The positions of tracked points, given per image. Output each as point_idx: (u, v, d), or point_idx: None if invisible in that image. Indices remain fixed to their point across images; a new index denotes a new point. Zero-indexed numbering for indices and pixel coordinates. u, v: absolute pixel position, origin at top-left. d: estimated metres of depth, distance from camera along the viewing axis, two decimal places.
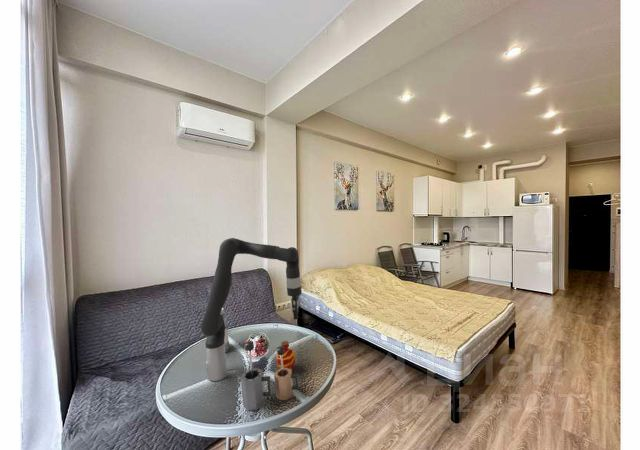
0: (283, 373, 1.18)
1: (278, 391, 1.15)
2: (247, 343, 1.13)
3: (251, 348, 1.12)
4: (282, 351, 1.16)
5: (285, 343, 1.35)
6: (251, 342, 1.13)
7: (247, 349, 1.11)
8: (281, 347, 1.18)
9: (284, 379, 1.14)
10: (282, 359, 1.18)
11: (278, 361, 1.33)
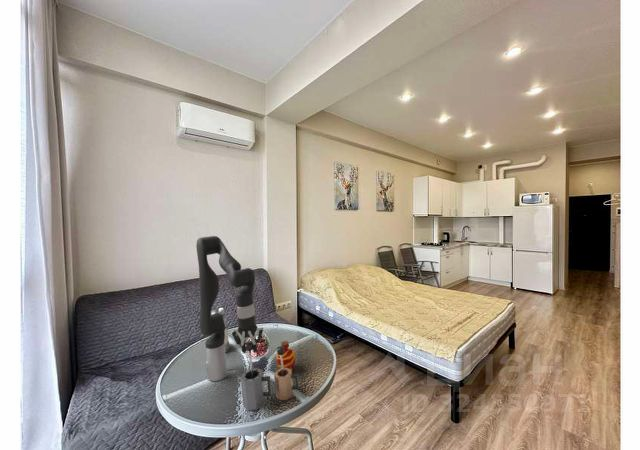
0: (283, 373, 1.18)
1: (278, 391, 1.15)
2: (247, 343, 1.13)
3: (251, 348, 1.12)
4: (282, 351, 1.16)
5: (285, 343, 1.35)
6: (251, 342, 1.13)
7: (247, 349, 1.11)
8: (281, 347, 1.18)
9: (284, 379, 1.14)
10: (282, 359, 1.18)
11: (278, 361, 1.33)
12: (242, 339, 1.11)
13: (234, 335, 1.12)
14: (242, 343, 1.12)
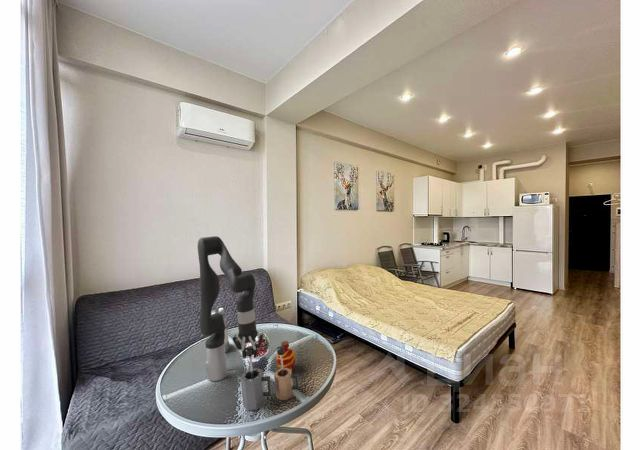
0: (283, 373, 1.18)
1: (278, 391, 1.15)
2: (248, 348, 1.13)
3: (252, 353, 1.12)
4: (282, 351, 1.16)
5: (285, 343, 1.35)
6: (252, 347, 1.14)
7: (247, 354, 1.12)
8: (281, 347, 1.18)
9: (284, 379, 1.14)
10: (282, 359, 1.18)
11: (278, 361, 1.33)
12: (243, 344, 1.11)
13: (235, 340, 1.12)
14: (243, 348, 1.12)
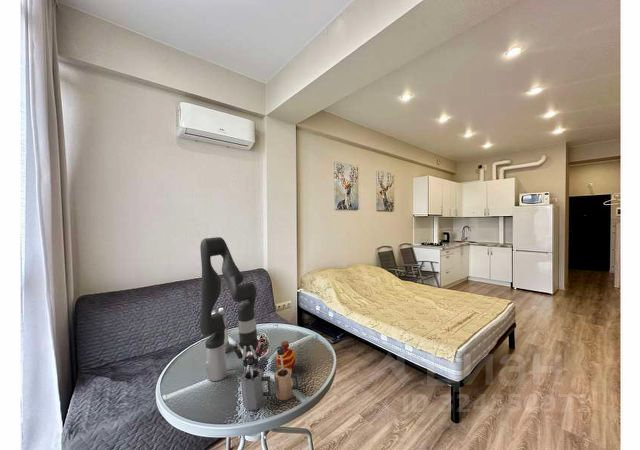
0: (283, 373, 1.18)
1: (278, 391, 1.15)
2: (248, 357, 1.13)
3: (252, 362, 1.12)
4: (282, 351, 1.16)
5: (285, 343, 1.35)
6: (252, 356, 1.14)
7: (248, 363, 1.12)
8: (281, 347, 1.18)
9: (284, 379, 1.14)
10: (282, 359, 1.18)
11: (278, 361, 1.33)
12: (243, 353, 1.12)
13: (235, 349, 1.12)
14: (244, 357, 1.12)
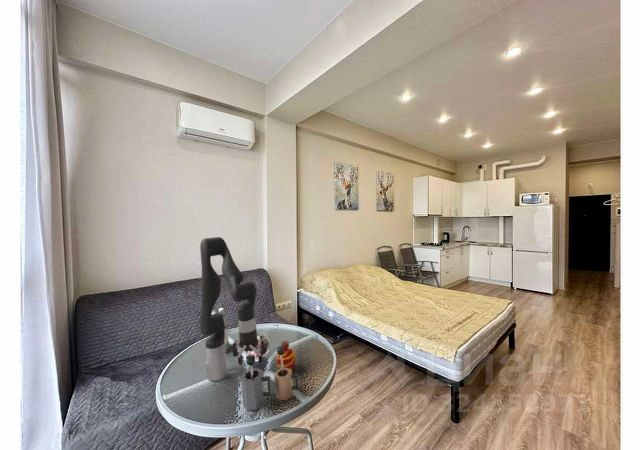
0: (283, 373, 1.18)
1: (278, 391, 1.15)
2: (248, 357, 1.13)
3: (252, 362, 1.12)
4: (282, 351, 1.16)
5: (285, 343, 1.35)
6: (252, 356, 1.14)
7: (248, 363, 1.12)
8: (281, 347, 1.18)
9: (284, 379, 1.14)
10: (282, 359, 1.18)
11: (278, 361, 1.33)
12: (241, 352, 1.12)
13: (234, 346, 1.12)
14: (238, 355, 1.12)
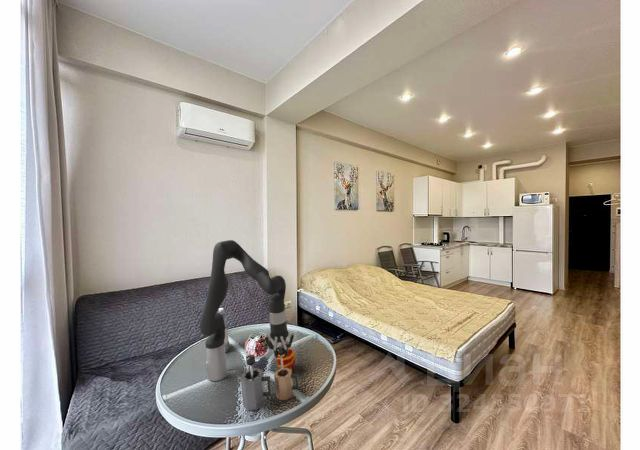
0: (283, 373, 1.18)
1: (278, 391, 1.15)
2: (248, 357, 1.13)
3: (252, 362, 1.12)
4: (282, 351, 1.16)
5: None
6: (252, 356, 1.14)
7: (248, 363, 1.12)
8: (281, 347, 1.18)
9: (284, 379, 1.14)
10: (282, 359, 1.18)
11: (278, 361, 1.33)
12: (275, 344, 1.16)
13: (267, 340, 1.16)
14: (275, 348, 1.16)
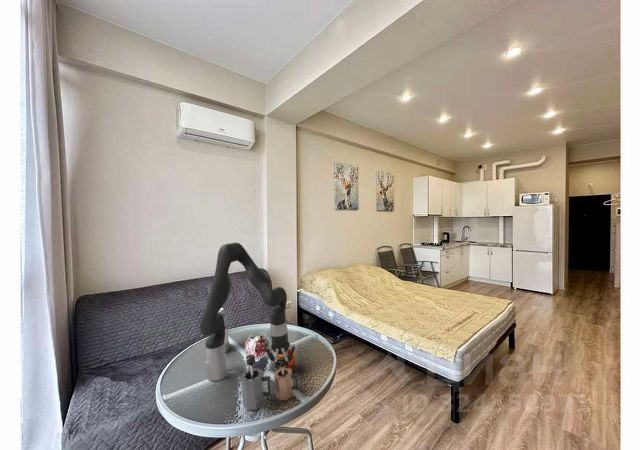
0: None
1: (278, 391, 1.15)
2: (248, 357, 1.13)
3: (252, 362, 1.12)
4: (283, 363, 1.16)
5: None
6: (252, 356, 1.14)
7: (248, 363, 1.12)
8: (282, 359, 1.18)
9: (284, 379, 1.14)
10: (283, 371, 1.18)
11: None
12: (276, 356, 1.16)
13: (268, 352, 1.16)
14: (276, 360, 1.16)
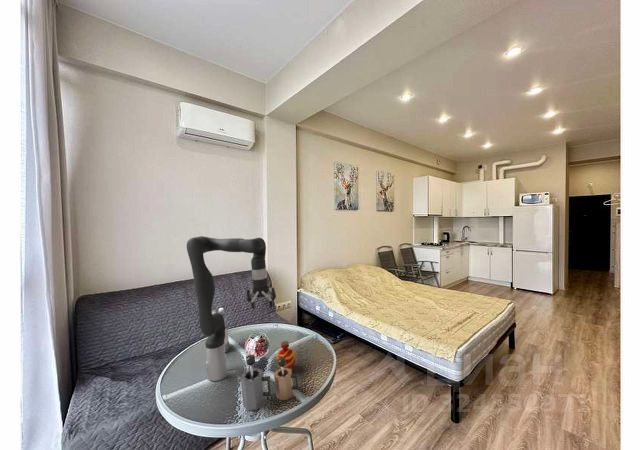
0: None
1: (278, 391, 1.15)
2: (248, 357, 1.13)
3: (252, 362, 1.12)
4: (283, 363, 1.16)
5: (285, 343, 1.35)
6: (252, 356, 1.14)
7: (248, 363, 1.12)
8: (282, 359, 1.18)
9: (284, 379, 1.14)
10: (283, 371, 1.18)
11: None
12: (254, 297, 1.29)
13: (248, 293, 1.29)
14: (252, 300, 1.29)
